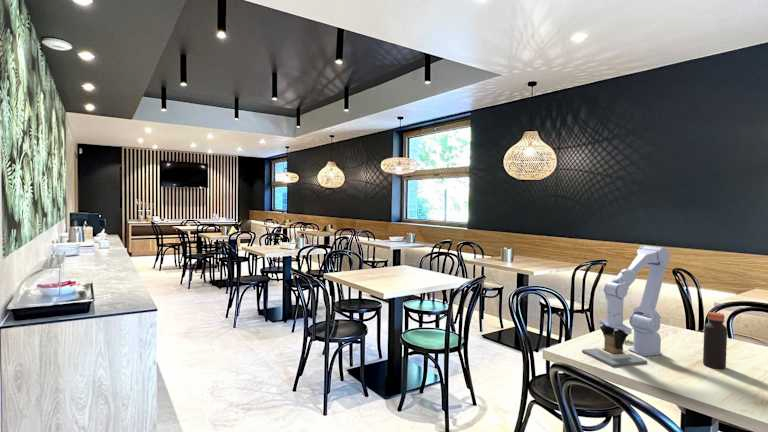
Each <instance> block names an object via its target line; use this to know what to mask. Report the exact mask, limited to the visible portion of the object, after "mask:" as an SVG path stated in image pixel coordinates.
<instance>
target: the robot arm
mask: <svg viewBox="0 0 768 432" xmlns="http://www.w3.org/2000/svg"><path fill="white" fill-rule="evenodd" d="M670 260H671V254H670V251H669V249H668V247H665V246H661V247H660V246H653V245H652V246H651V245H644V244H643V245H641V246H639V248H638V249H637V250H636V257H635V258H634V259H633V261H632V262H631V264H630V265H629V266H628V268H623V269H621V270H620V272H619V273H618V274H617V276H616V277H614V278H613V279H612V281H608V282H606V283H605V285H604V288H603V292H604V294H605V300H606V319H605V318H598V324H600V327H599V329H600V330H601V332H602V334H603V338H604V339H605V334H613V333H614V335H615V340H616V349H622V346H623V347H624V343H625V341H626V339H627V337H628V336H629V335H630V334H633V346H632V347H630V348H628V350H629V351H631V352H633V353H635V354H638V355H640V356H643V357H647V356H648V357H650V356H659V355H663V352H662V351H661V348H662V347H661V346H662V339H661V338H662V337H661V335H660V332H658V331H659V330H660V328H661V315H660V313H658V311H657V310H656V307H657V304H658V301H659V296H660V292H661V288H662V284H663V280H664V277H665V274H666V270H667V269H668V266H669V263H670ZM645 267H647V268H648V269H649V272H648V275H647V279H646V282H645V283H646V284H645V286H644V291H643V294H642V298H641V301H640V305H638V306H636V307H635V308H633V309H632V312H631V314H630V316H629V319H628V320H629V321H628V322H629V325H630V327H628V326H627V325H625V324H624V298H625V297H626V296H627V295H628V293H629V292H628V291H629V289H630V286H631V285H632V284H633V283H634V281H636V279H637V276H636V275H637V274H638V272H640V271H641V270H642V269H643V268H645ZM601 325H602V326H601ZM614 329H617V330H618V331H614ZM632 330H633V333H632Z"/></svg>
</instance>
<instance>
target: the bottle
mask: <svg viewBox="0 0 768 432" xmlns="http://www.w3.org/2000/svg"><path fill="white" fill-rule="evenodd" d="M707 320H708V322H707V323H705V324H704V326H703V327H704V328H703V352H702V355H703V356H702V364H703V365H704V366H705V367H708V368H710V369H716V370H725V369H726V368H727V345H728V343H727V342H728V328H727V327H726V326H725V325H724V323H725V314H724V313H721V312H714V311H708V312H707Z"/></svg>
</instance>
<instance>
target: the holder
mask: <svg viewBox="0 0 768 432" xmlns="http://www.w3.org/2000/svg"><path fill="white" fill-rule="evenodd" d="M581 353H583V354H585V355H587V356H589V357H591V358H593V359H594V360H595V359H596V360H598V361H599V362H602V363H603V364H606V365H608V366H610V367H612V368H616V367H624V366H625V367H627V366H635V365H636V366H637V365H642V364H643V365H644V364H648V360H647V359H644V358H642V357H639V356H637V355H634V354H633V353H630V352H628V351H626V350H623V354H616V355H613V354H611V353H608V352H606V351H604V347H598V348H597V347H596V348H585V349H582V350H581Z"/></svg>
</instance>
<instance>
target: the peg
mask: <svg viewBox="0 0 768 432" xmlns="http://www.w3.org/2000/svg"><path fill="white" fill-rule="evenodd" d="M603 346H604V347H603V348H604V351H606V352H608V353H611V354H613V355H616V354H623V351H624V350H623V349H624V345H623V346H622V349H616V340H615V335H614V334H605V338H604V345H603Z"/></svg>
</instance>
